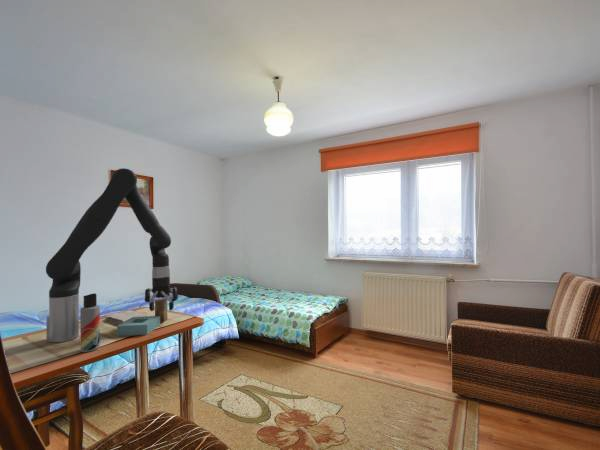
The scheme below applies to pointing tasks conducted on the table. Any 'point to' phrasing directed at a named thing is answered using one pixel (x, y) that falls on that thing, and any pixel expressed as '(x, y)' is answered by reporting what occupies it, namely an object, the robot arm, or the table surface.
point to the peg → (161, 309)
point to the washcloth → (123, 316)
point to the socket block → (138, 326)
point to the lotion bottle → (90, 324)
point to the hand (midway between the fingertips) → (161, 310)
